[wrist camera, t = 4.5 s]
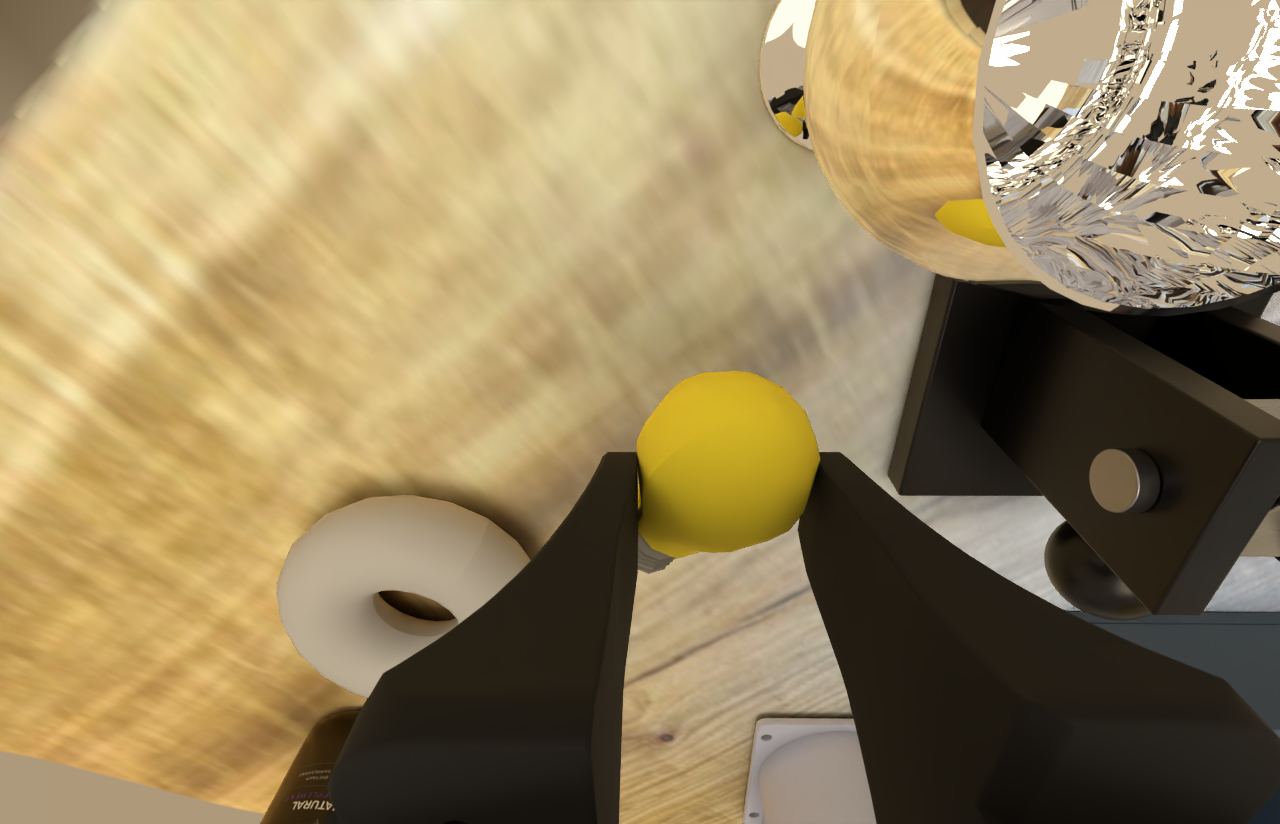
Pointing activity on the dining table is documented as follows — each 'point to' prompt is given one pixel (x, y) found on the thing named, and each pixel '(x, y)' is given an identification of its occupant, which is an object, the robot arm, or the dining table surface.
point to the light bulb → (721, 467)
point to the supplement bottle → (312, 776)
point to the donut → (387, 582)
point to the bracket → (1103, 428)
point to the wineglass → (1048, 140)
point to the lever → (1100, 587)
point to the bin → (1219, 659)
